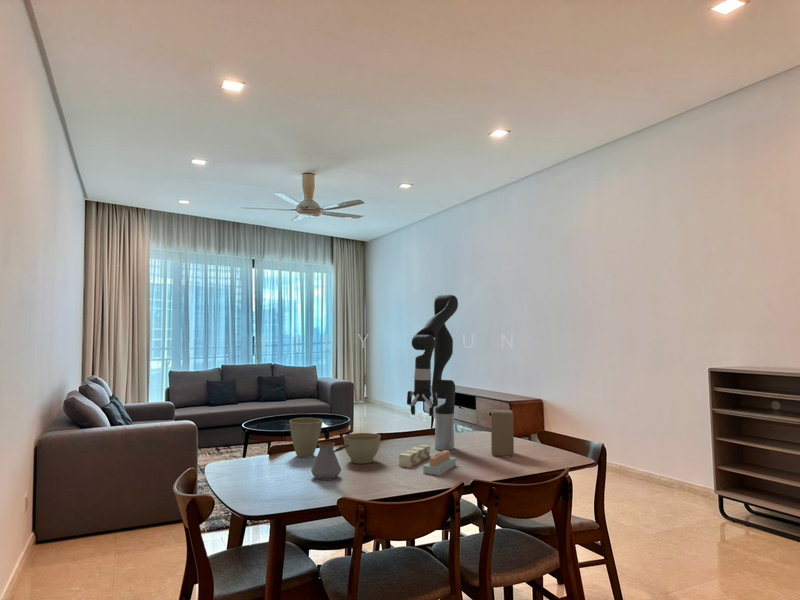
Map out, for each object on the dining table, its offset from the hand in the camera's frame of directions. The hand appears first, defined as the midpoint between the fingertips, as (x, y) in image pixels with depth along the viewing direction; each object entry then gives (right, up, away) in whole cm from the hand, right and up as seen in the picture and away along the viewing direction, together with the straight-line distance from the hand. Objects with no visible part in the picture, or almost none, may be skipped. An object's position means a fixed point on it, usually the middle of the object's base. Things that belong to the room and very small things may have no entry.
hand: (421, 415), depth 227 cm
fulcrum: (+7, -18, -19) cm, 27 cm away
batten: (-3, -19, -5) cm, 20 cm away
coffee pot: (-35, -17, -36) cm, 53 cm away
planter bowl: (-27, -19, -7) cm, 33 cm away
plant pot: (-53, -19, +3) cm, 56 cm away
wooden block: (+38, -20, +8) cm, 44 cm away
